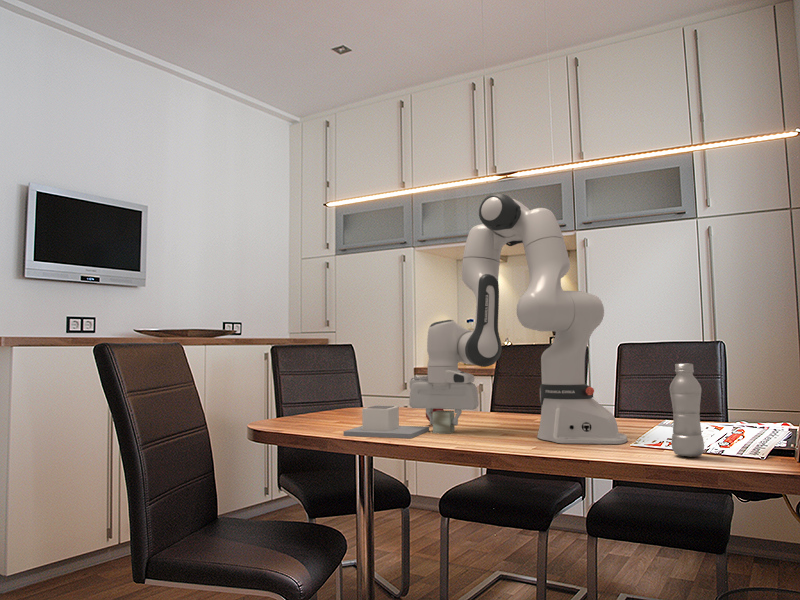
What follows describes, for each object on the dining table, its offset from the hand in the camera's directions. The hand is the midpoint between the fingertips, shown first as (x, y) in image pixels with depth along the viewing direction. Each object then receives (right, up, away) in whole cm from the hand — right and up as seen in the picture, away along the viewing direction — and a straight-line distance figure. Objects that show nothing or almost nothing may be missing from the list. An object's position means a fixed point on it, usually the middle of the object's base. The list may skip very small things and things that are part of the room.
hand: (443, 424), depth 178 cm
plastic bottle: (+50, +2, -44) cm, 66 cm away
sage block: (0, -2, 0) cm, 2 cm away
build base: (-16, -2, -1) cm, 16 cm away
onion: (-2, -4, +15) cm, 16 cm away
